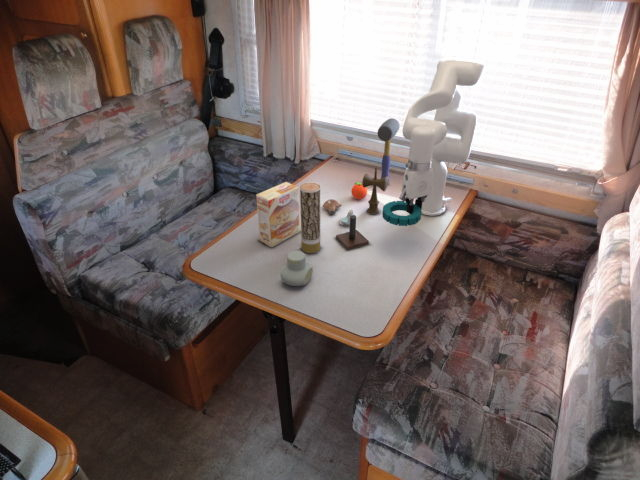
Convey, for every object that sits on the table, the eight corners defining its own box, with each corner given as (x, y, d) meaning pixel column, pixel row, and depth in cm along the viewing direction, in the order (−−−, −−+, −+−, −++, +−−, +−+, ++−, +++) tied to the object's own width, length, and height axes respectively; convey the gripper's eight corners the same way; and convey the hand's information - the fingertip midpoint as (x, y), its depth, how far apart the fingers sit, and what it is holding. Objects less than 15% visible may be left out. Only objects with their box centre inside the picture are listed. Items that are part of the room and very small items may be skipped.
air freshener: (292, 268, 152) (291, 244, 147) (315, 274, 149) (314, 249, 144) (278, 286, 144) (276, 261, 138) (301, 293, 141) (300, 267, 136)
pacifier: (335, 224, 177) (348, 228, 174) (335, 210, 174) (349, 214, 171) (345, 217, 182) (358, 221, 179) (345, 203, 179) (358, 207, 176)
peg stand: (356, 233, 172) (357, 209, 166) (368, 244, 165) (370, 219, 159) (335, 238, 168) (336, 214, 163) (347, 250, 162) (348, 225, 156)
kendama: (382, 217, 182) (386, 172, 171) (359, 213, 185) (362, 168, 174) (386, 210, 187) (389, 166, 176) (364, 207, 190) (366, 163, 179)
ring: (406, 204, 164) (406, 197, 162) (428, 220, 154) (429, 213, 152) (375, 212, 159) (375, 205, 158) (396, 229, 149) (396, 223, 148)
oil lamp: (317, 213, 187) (333, 219, 183) (316, 205, 184) (332, 211, 180) (330, 202, 192) (345, 208, 188) (329, 195, 190) (345, 200, 186)
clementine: (347, 195, 199) (347, 181, 195) (361, 192, 201) (361, 178, 197) (355, 203, 193) (356, 188, 189) (369, 200, 195) (370, 185, 191)
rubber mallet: (388, 191, 203) (393, 126, 187) (372, 188, 205) (376, 124, 189) (395, 180, 212) (401, 118, 196) (380, 177, 215) (385, 116, 199)
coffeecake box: (271, 247, 163) (268, 200, 152) (259, 240, 167) (254, 194, 157) (300, 232, 172) (299, 186, 162) (287, 225, 176) (285, 180, 166)
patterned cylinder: (306, 256, 158) (305, 192, 145) (298, 246, 164) (296, 184, 150) (323, 251, 161) (323, 188, 148) (315, 242, 166) (314, 181, 153)
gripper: (405, 173, 142) (400, 222, 153) (446, 163, 148) (438, 211, 158) (392, 164, 148) (388, 212, 158) (432, 155, 154) (425, 202, 164)
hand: (413, 211), depth 158 cm, fingers closed on ring, 2 cm apart
